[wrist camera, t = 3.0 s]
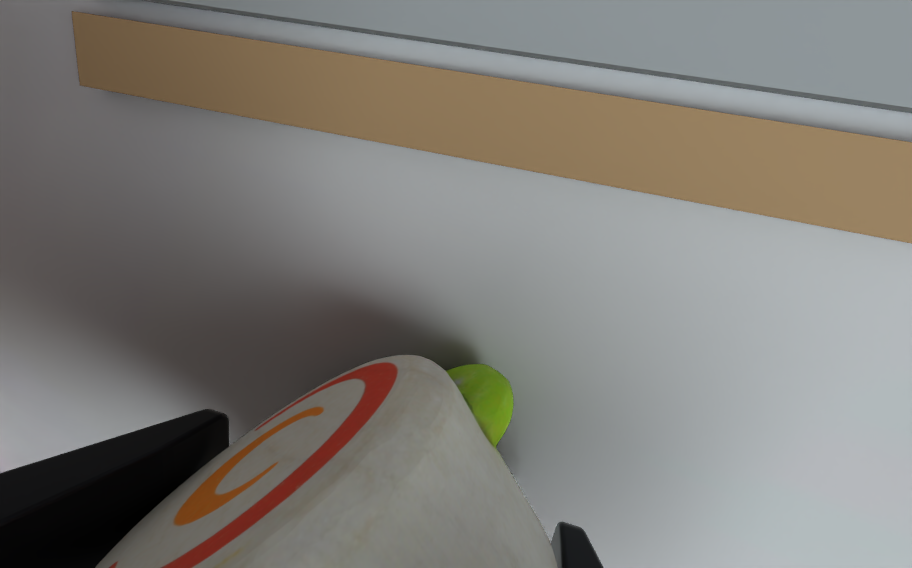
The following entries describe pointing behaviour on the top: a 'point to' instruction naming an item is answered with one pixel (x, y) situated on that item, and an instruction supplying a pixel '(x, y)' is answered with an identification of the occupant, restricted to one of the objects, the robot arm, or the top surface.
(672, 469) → the top surface
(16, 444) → the top surface
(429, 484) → the roller toy
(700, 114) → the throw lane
